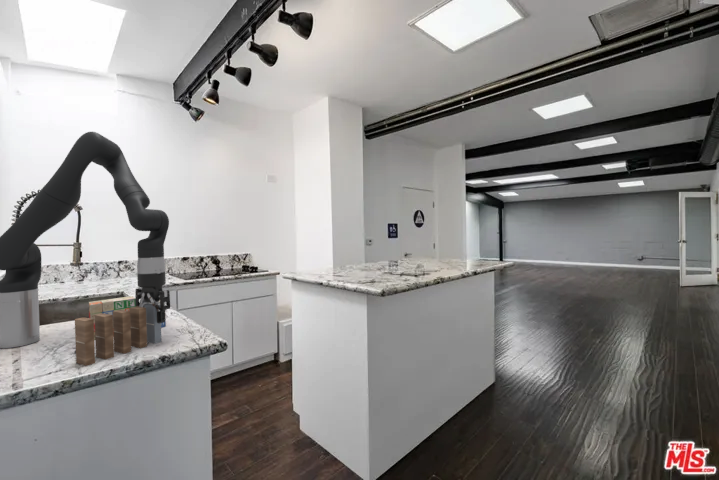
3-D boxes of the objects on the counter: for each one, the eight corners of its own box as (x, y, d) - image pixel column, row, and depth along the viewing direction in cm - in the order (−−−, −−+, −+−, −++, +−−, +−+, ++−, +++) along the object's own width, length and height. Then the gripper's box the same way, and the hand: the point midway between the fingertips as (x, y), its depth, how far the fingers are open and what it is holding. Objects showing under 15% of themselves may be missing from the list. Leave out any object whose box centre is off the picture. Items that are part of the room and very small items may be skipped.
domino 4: (140, 348, 94) (138, 309, 94) (130, 346, 96) (129, 307, 96) (147, 346, 96) (146, 307, 96) (137, 343, 98) (136, 306, 98)
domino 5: (155, 343, 98) (153, 306, 98) (145, 341, 100) (144, 304, 100) (161, 341, 100) (160, 304, 100) (151, 339, 102) (150, 303, 102)
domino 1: (85, 366, 82) (84, 321, 82) (76, 362, 84) (74, 319, 84) (95, 363, 84) (93, 319, 84) (85, 360, 86) (83, 317, 86)
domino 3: (123, 353, 90) (122, 312, 90) (113, 351, 92) (112, 311, 92) (131, 351, 92) (130, 311, 92) (121, 348, 94) (120, 309, 94)
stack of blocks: (162, 323, 121) (161, 292, 121) (166, 327, 116) (165, 294, 116) (89, 337, 106) (88, 301, 106) (90, 341, 102) (89, 304, 101)
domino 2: (105, 359, 86) (104, 316, 86) (95, 356, 88) (94, 314, 88) (114, 356, 88) (112, 315, 88) (104, 354, 90) (102, 313, 90)
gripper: (125, 271, 99) (127, 322, 100) (153, 273, 93) (155, 327, 94) (149, 269, 106) (151, 316, 107) (177, 270, 100) (178, 320, 101)
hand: (153, 321), depth 100 cm, fingers open, 8 cm apart
